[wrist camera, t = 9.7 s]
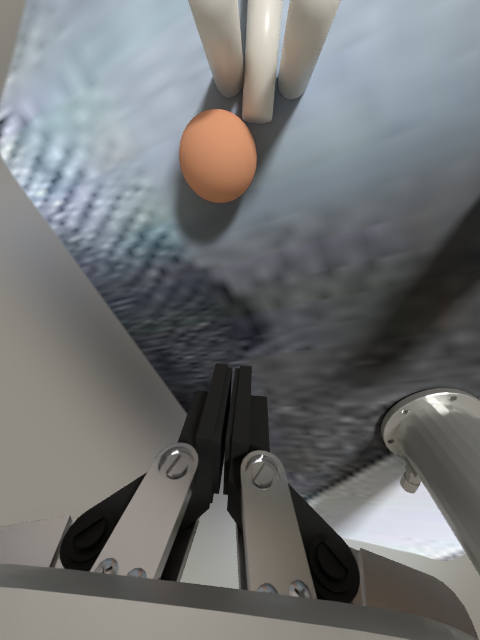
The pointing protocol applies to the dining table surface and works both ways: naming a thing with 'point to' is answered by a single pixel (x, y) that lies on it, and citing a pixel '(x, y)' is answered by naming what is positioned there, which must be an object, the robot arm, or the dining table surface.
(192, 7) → the pin
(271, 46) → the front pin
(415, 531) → the dining table surface
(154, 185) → the dining table surface
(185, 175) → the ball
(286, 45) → the pin
